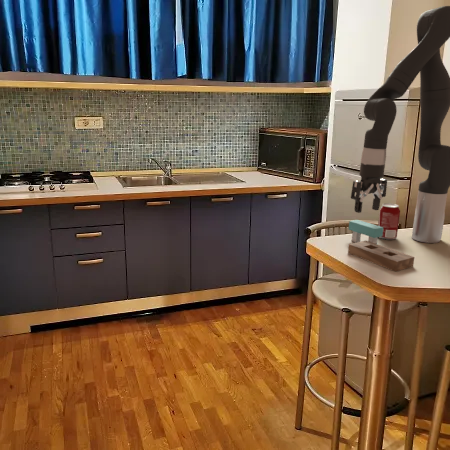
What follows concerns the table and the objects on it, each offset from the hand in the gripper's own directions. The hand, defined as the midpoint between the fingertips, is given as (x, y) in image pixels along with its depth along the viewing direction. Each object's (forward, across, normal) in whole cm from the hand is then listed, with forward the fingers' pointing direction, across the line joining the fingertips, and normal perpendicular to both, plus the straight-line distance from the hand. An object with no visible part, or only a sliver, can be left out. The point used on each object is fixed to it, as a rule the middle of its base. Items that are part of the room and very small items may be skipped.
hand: (366, 211), depth 149 cm
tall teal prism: (+12, 0, 0) cm, 12 cm away
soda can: (+12, -13, -1) cm, 18 cm away
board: (+12, +8, +13) cm, 19 cm away
